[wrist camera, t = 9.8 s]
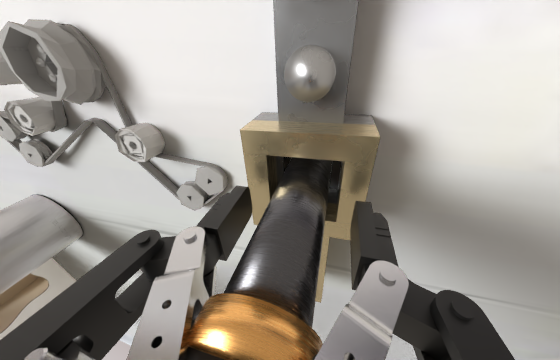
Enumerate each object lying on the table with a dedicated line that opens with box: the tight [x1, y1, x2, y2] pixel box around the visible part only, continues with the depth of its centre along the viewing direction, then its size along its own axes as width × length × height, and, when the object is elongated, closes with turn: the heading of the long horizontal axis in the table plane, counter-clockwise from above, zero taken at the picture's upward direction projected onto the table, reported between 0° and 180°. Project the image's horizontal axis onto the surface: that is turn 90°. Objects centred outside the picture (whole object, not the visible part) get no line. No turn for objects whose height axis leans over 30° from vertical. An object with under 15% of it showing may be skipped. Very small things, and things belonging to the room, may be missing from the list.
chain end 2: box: [240, 120, 380, 302], centre depth 17 cm, size 8×17×4 cm, turn 2°
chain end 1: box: [253, 0, 375, 204], centre depth 13 cm, size 8×17×3 cm, turn 2°
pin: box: [186, 157, 332, 360], centre depth 11 cm, size 4×4×13 cm
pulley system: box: [0, 19, 228, 211], centre depth 19 cm, size 27×5×15 cm
